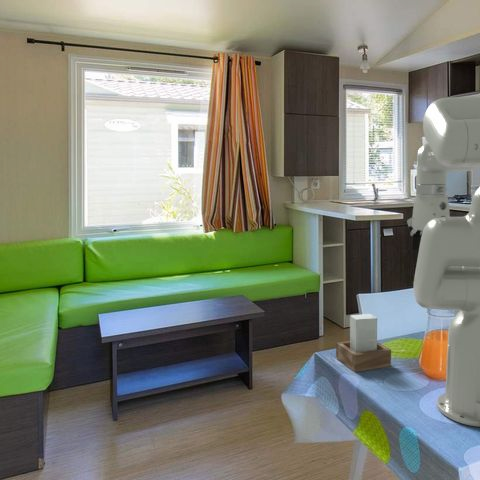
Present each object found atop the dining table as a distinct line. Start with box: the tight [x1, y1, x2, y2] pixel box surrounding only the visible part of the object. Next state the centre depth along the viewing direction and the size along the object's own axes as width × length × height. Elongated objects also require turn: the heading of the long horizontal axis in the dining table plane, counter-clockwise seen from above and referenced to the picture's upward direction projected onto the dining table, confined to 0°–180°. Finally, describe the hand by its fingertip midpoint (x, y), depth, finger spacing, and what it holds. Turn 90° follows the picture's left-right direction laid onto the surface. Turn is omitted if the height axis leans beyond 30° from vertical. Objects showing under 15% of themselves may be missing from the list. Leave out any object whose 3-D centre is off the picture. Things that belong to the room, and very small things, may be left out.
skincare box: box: [349, 313, 378, 353], centre depth 117 cm, size 6×4×12 cm
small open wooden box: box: [335, 340, 392, 373], centre depth 117 cm, size 9×11×4 cm
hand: (428, 251), depth 123 cm, fingers open, 9 cm apart
